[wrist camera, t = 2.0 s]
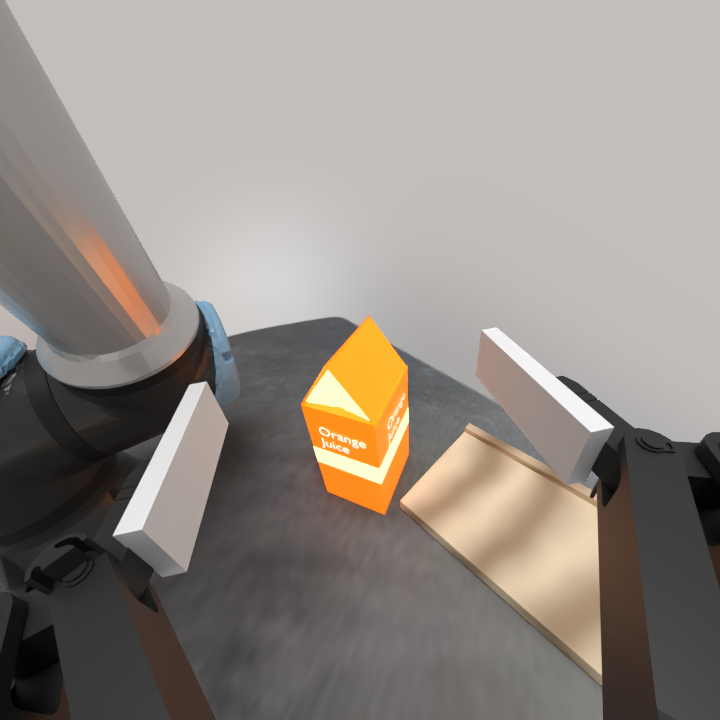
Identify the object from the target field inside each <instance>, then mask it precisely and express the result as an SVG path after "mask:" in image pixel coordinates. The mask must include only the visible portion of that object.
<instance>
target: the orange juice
mask: <svg viewBox="0 0 720 720" xmlns="http://www.w3.org/2000/svg"><path fill="white" fill-rule="evenodd" d="M407 369H408V368H407V366H406V365H405V364H404V362H403V361H402V360H401V358H400V357H399V356H398V354H397V353H396V351H395V350H394V349H393V347H392V346H391V345H390V343H389V342H388V341H387V339H386V338H385V337H384V335H383V334H382V333H381V331H380V330H379V329H378V327H377V326H376V324H375V323H374V322H373V320H372V319H371V318H370V316H368V317H367V319H366V320H365V321H364V322H363V323H362V324H361V325H360V326H359V327H358V329H357V330H356V331H355V332H354V333H353V334H352V335H351V336H350V338H349V339H348V340H347V341H346V342H345V343H344V344H343V345H342V347H341V348H340V349H339V350H338V351H337V352H336V353H335V354H334V356H333V357H332V358H331V359H330V360H329V361H328V362H327V363H326V365H325V366H324V368H323V369H322V371H321V373H320V374H319V376H318V378H317V379H316V381H315V382H314V384H313V386H312V387H311V389H310V391H309V392H308V394H307V395H306V397H305V399H304V400H305V401H304V400H303V402H302V404H301V406H302V410H303V413H304V416H305V419H306V423H307V426H308V429H309V433H310V436H311V439H312V442H313V448H314V451H315V454H316V457H317V461H318V462H319V465H320V469H321V472H322V475H323V479H324V482H325V485H326V488H327V491H328V492H330V493H333V494H335V495H338V496H340V497H343V498H345V499H347V500H350V501H352V502H355V503H357V504H360V505H362V506H365V507H367V508H369V509H372V510H374V511H377V512H379V513H382V514H384V515H385V513H386V510H387V508H388V505H389V503H390V500H391V498H392V495H393V492H394V490H395V487H396V485H397V482H398V480H399V477H400V475H401V472H402V470H403V467H404V465H405V462H406V459H407V457H408V454H409V437H408V423H409V414H408V381H407Z"/></svg>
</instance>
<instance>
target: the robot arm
mask: <svg viewBox="0 0 720 720" xmlns="http://www.w3.org/2000/svg"><path fill="white" fill-rule="evenodd" d="M0 305H2V306H3V307H4V308H5V309H7V310H8V311H9V312H10V313H12V314H13V315H14V316H15V317H17V318H18V319H19V320H20V321H22V322H23V323H24V324H25V325H26V326H28V327H29V328H30V329H31V330H33V331H34V332H35V333H36V334H38V338H37V343H36V349H35V350H27V345H26V344H25V343H24V342H21V341H19V340H17V339H16V338H13V337H11V336H0V578H1V580H2V581H3V583H4V585H5V587H6V588H7V590H9V591H10V592H11V593H12V594H10V593H8V592H1V593H0V720H216V719H215V717H214V715H213V713H212V711H211V709H210V707H209V704H208V702H207V700H206V698H205V696H204V694H203V692H202V690H201V687H200V685H199V683H198V681H197V679H196V677H195V675H194V673H193V670H192V668H191V666H190V664H189V662H188V660H187V658H186V656H185V653H184V651H183V649H182V647H181V645H180V643H179V641H178V639H177V636H176V634H175V632H174V630H173V628H172V626H171V624H170V622H169V619H168V617H167V615H166V613H165V611H164V609H163V607H162V605H161V602H160V600H159V598H158V596H157V594H156V592H155V590H154V588H153V586H152V585H151V584H150V583H149V581H150V578H151V575H152V572H153V570H154V571H155V572H157V573H158V574H159V575H160V576H161V577H167V576H171V575H175V574H180V573H184V572H187V570H188V566H189V562H190V559H191V555H192V552H193V548H194V545H195V541H196V538H197V534H198V531H199V527H200V523H201V520H202V516H203V513H204V509H205V506H206V502H207V499H208V495H209V492H210V488H211V484H212V481H213V477H214V474H215V470H216V467H217V463H218V460H219V456H220V453H221V449H222V445H223V442H224V438H225V435H226V431H227V428H228V424H229V423H228V421H227V420H226V418H225V416H224V414H223V412H222V410H221V408H222V407H224V406H226V405H228V404H230V403H232V402H233V401H235V400H236V398H237V397H238V395H239V392H240V381H239V376H238V371H237V367H236V364H235V360H234V358H233V356H232V354H231V349H230V345H229V341H228V338H227V336H226V333H225V330H224V328H223V326H222V323H221V321H220V318H219V316H218V315H217V312H216V310H215V309H214V307H213V306H212V305H211V304H210V303H209V302H205V301H202V302H198V301H193V299H192V298H191V297H190V296H189V295H188V294H187V293H186V292H185V291H184V290H182V289H181V288H179V287H177V286H175V285H173V284H171V283H168V282H164V281H162V280H161V278H160V276H159V275H158V273H157V271H156V269H155V268H154V266H153V264H152V263H151V261H150V259H149V257H148V255H147V253H146V251H145V250H144V248H143V246H142V244H141V242H140V241H139V239H138V237H137V235H136V234H135V232H134V230H133V228H132V226H131V225H130V223H129V221H128V219H127V217H126V216H125V214H124V212H123V210H122V209H121V207H120V205H119V203H118V201H117V200H116V198H115V196H114V194H113V193H112V191H111V189H110V187H109V185H108V184H107V182H106V180H105V178H104V176H103V175H102V173H101V171H100V169H99V168H98V166H97V164H96V162H95V160H94V159H93V157H92V155H91V153H90V151H89V150H88V148H87V146H86V144H85V143H84V141H83V139H82V137H81V135H80V134H79V132H78V130H77V128H76V127H75V125H74V123H73V121H72V119H71V118H70V116H69V114H68V112H67V110H66V109H65V107H64V105H63V104H62V101H61V100H60V98H59V96H58V94H57V93H56V91H55V89H54V87H53V85H52V84H51V82H50V80H49V78H48V76H47V75H46V73H45V71H44V69H43V68H42V66H41V64H40V62H39V60H38V59H37V57H36V55H35V53H34V52H33V50H32V48H31V46H30V44H29V43H28V41H27V39H26V37H25V36H24V34H23V32H22V30H21V28H20V26H19V25H18V23H17V21H16V19H15V18H14V16H13V14H12V12H11V10H10V9H9V7H8V5H7V3H6V2H5V0H0ZM476 376H477V377H478V379H479V380H480V381H481V382H482V383H483V385H484V386H485V387H486V388H487V390H488V391H489V392H490V393H491V395H492V396H493V397H494V398H495V399H496V401H497V402H498V403H499V404H500V406H501V407H502V408H503V409H504V410H505V412H506V413H507V414H508V415H509V417H510V418H511V419H512V420H513V422H514V423H515V424H516V425H517V426H518V428H519V429H520V430H521V431H522V433H523V434H524V435H525V436H526V437H527V439H528V440H529V441H530V442H531V444H532V445H533V446H534V447H535V448H536V450H537V451H538V452H539V453H540V455H541V456H542V457H543V458H544V459H545V461H546V462H547V463H548V464H549V466H550V467H551V468H552V469H553V470H554V472H555V473H556V474H557V475H558V477H559V478H560V479H561V480H562V481H563V483H564V484H565V485H569V484H574V483H578V482H582V481H586V479H587V477H588V476H589V474H590V472H591V470H592V471H593V472H594V473H595V474H596V475H597V476H598V477H599V479H598V481H597V483H596V484H595V486H594V488H593V490H592V491H591V494H590V498H594V497H595V495H596V493H597V517H598V552H599V588H600V623H601V658H602V693H603V720H720V432H712V433H710V434H707V435H706V436H705V437H704V438H703V439H702V440H701V442H700V443H690V442H673V441H671V440H670V439H668V438H667V437H665V436H663V435H661V434H659V433H657V432H654V431H651V430H647V429H640V428H636V429H635V428H633V427H632V426H631V425H630V424H628V423H627V422H626V421H625V420H623V419H622V418H621V417H620V416H618V415H617V414H616V413H614V412H613V411H612V410H611V409H610V408H608V407H607V406H606V405H605V404H603V403H602V402H601V401H600V400H597V398H596V397H595V396H593V395H592V394H591V393H588V391H587V390H586V389H585V388H583V387H582V386H581V385H580V384H578V383H577V382H575V381H573V380H570V379H568V378H566V377H564V376H559V377H554V376H553V375H552V374H551V373H550V372H549V371H547V370H546V369H545V368H544V367H543V366H541V365H540V364H539V363H538V362H537V361H536V360H534V359H533V358H532V357H531V356H530V355H529V354H527V353H526V352H525V351H524V350H523V349H521V348H520V347H519V346H518V345H517V344H515V343H514V342H513V341H512V340H510V338H508V337H507V336H506V335H505V334H504V333H503V332H501V331H500V330H499V329H498V328H491V329H486V330H482V331H481V338H480V346H479V353H478V361H477V368H476ZM163 433H165V434H164V436H163V438H162V439H161V441H160V443H159V445H158V447H157V449H156V451H155V453H154V455H153V457H152V459H151V460H146V461H143V460H141V459H138V458H136V457H134V456H131V455H129V454H127V453H125V452H122V451H123V450H125V449H128V448H130V447H132V446H135V445H137V444H139V443H142V442H144V441H146V440H149V439H151V438H153V437H156V436H158V435H160V434H163Z"/></svg>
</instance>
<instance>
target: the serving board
mask: <svg viewBox="0 0 720 720" xmlns="http://www.w3.org/2000/svg"><path fill="white" fill-rule="evenodd" d="M591 491H592V490H591V489H589V488H587V487H585V486H584V485H582V484H580V483H574V484H569V485H565V484H564V483H563V481H562V480H561V479H560V478H559V477H558V475H557V474H556V473H555V472H554V470H553V469H552V468H551V467H549V466H547V465H545V464H543V463H541V462H540V461H538V460H536V459H534V458H532V457H530V456H529V455H527V454H525V453H523V452H521V451H519V450H518V449H516V448H514V447H512V446H510V445H508V444H507V443H505V442H503V441H501V440H499V439H497V438H496V437H494V436H492V435H490V434H488V433H486V432H484V431H483V430H481V429H479V428H477V427H475V426H473V425H472V424H470V423H469V424H468V425H467V426H466V427H465V432H464V433H463V434H462V435H461V436H460V437H459V438H458V439H457V440H456V441H455V442H454V444H453V445H452V446H451V447H450V448H449V449H448V450H447V451H446V452H445V453H444V454H443V455H442V456H441V457H440V459H439V460H438V461H437V462H436V463H435V464H434V465H433V466H432V467H431V468H430V469H429V470H428V471H427V472H426V474H425V475H424V476H423V477H422V478H421V479H420V480H419V481H418V482H417V483H416V484H415V485H414V486H413V487H412V489H411V490H410V491H409V492H408V493H407V494H406V495H405V496H404V497H403V498H402V499H401V500H400V508H401V509H402V510H403V511H404V512H406V513H407V514H408V515H409V516H410V517H411V518H412V519H413V520H415V521H416V522H417V523H418V524H419V525H420V526H421V527H423V528H424V529H425V530H426V531H427V532H428V533H429V534H430V535H432V536H433V537H434V538H435V539H436V540H437V541H438V542H439V543H441V544H442V545H443V546H444V547H445V548H446V549H447V550H448V551H450V552H451V553H452V554H453V555H454V556H455V557H456V558H457V559H459V560H460V561H461V562H462V563H463V564H464V565H465V566H467V567H468V568H469V569H470V570H471V571H472V572H473V573H474V574H476V575H477V576H478V577H479V578H480V579H481V580H482V581H483V582H485V583H486V584H487V585H488V586H489V587H490V588H491V589H492V590H494V591H495V592H496V593H497V594H498V595H499V596H500V597H502V598H503V599H504V600H505V601H506V602H507V603H508V604H509V605H511V606H512V607H513V608H514V609H515V610H516V611H517V612H518V613H520V614H521V615H522V616H523V617H524V618H525V619H526V620H527V621H529V622H530V623H531V624H532V625H533V626H534V627H535V628H536V629H538V630H539V631H540V632H541V633H542V634H543V635H544V636H546V637H547V638H548V639H549V640H550V641H551V642H552V643H553V644H555V645H556V646H557V647H558V648H559V649H560V650H561V651H562V652H564V653H565V654H566V655H567V656H568V657H569V658H570V659H571V660H573V661H574V662H575V663H576V664H577V665H578V666H579V667H580V668H582V669H583V670H584V671H585V672H586V673H587V674H588V675H590V676H591V677H592V678H593V679H594V680H595V681H596V682H597V683H599V684H600V685H601V686H602V658H601V623H600V588H599V552H598V517H597V493H596V495H595V497H594V498H590V494H591Z"/></svg>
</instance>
